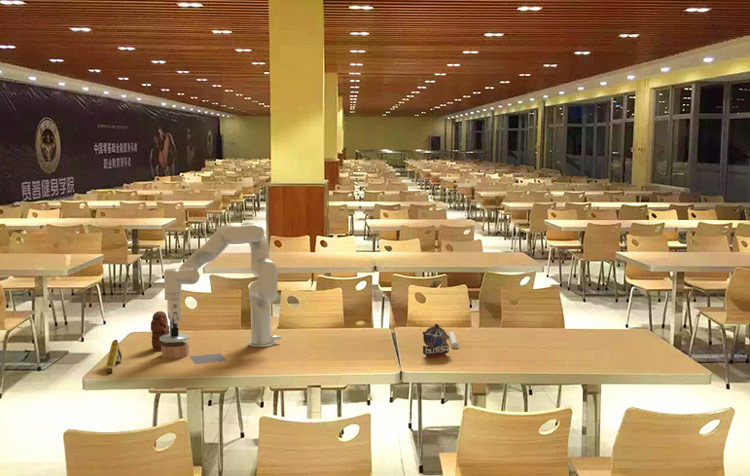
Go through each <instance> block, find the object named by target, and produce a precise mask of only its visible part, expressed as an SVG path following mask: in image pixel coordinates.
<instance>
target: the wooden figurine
mask: <svg viewBox="0 0 750 476" xmlns="http://www.w3.org/2000/svg"><path fill="white" fill-rule="evenodd" d="M151 319H152V320H151V321H150V331H151V333H152V334H151V344H152V350H153V352H161V344H163V343H166V342H162V341H160V339H159V338H160V337H161V336H163V335H168V334H170V324H168V323H169V322H168V321H169V320H168V316H167V313H166V312H165V311H162V310H161V311H160V310H159V311H156V312H154V313H153V315H152V318H151Z"/></svg>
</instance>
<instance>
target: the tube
mask: <svg viewBox="0 0 750 476" xmlns="http://www.w3.org/2000/svg"><path fill="white" fill-rule="evenodd" d="M448 336H449V341H450V343H451V347H452V349H458V348H459V343H458V340H457V337H456V333H455V332H454V331H449V332H448Z"/></svg>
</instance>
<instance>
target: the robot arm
mask: <svg viewBox="0 0 750 476" xmlns="http://www.w3.org/2000/svg"><path fill="white" fill-rule="evenodd" d="M241 244H242V245H243V244H249V246H250V247H249V248H250V271H251V273H252V275H253V276H254V277H256V278H257V279H256V280H254V281H251V283H250V285H249V288H248V297H249V301H250V326H251V327H250V330H251V331H250V333H251V334H250V335H251V336H250V337H251V338H250V339H251V340H250V341H248V343H247V344H248V346H250V347H252V348H268V347H271V346H272V347H273V346H274V345H275V341H276V340H277V341H279V340H282V336H281V335H277V334H276V335H275V334H274V335H273V334H272V317H271V316H272V310H271V302H273V301H275V299H276V298H277V295H278V287H279V286H278V285H279V284H278V282H279V281H278V280H279V278H278V276H279V274H278V273H279V272H278V268H277V265H276V263H275V262H274V261H273V260H271V259H270V248H269V247H270V246H269V242H268V239H267V237H266V235H265V230H264V228H263V226H261V225H260V224H258V223H255V222H249V221H246V222H242V223H241V225H230V224H222V225H221V226H220V227H219V228H217V230H216V231H215V232H214V233H213V234H212V235H211V236H210V238H209V239H208V240H207V241H206V242H205V243H204V244H203V245H202V246H201V247H200V248H198V249H197V250H196V251H194V252H193V253H192V254H191V255H189V256H188V258H187V259H185V260H184V262H183V263H182V264H181V265H180V266H179V268H167V269H165V270H164V271H163V277H164V278H163V283H164V285H163V286H164V300H166V302H167V304H166V306H167V319H169V320H168V321H169V325H170V324H172V328H171V336H172V337H175V336H178V334H179V322H181V321H182V312H181V310H182V309H181V308H182V307H181V300H182V299H183V298H182V285H195V284H196V283H198V282H199V280H200V279H201V278H200V273H199V271H198V270H199V269H201V268H202V267H203V265H206V264H208V263H210V262H213V261H215V260H217V259H218V258H219V256H220V255H221V254H222V253H223V252H224V251H225V249H226V248H228V246H229V245H241Z"/></svg>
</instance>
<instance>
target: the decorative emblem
mask: <svg viewBox="0 0 750 476" xmlns="http://www.w3.org/2000/svg"><path fill="white" fill-rule="evenodd" d="M422 335H423V337H422V338H423V343H424V344H425V345H422V354H423V355H425V357H426V358H428V359H431V358H440V357H441V358H442V357H446V356H447V355H446V354H448V353H449V352H450V349H449V347H450V344H448V342H447V341H448V340H450V338H449V334H447V332H446V331H445V330H444V329H443V328H441V327H440V326H439V324H437V323H435V324H434V326H431V327H428V328H427V329H426V330H425V331H423V332H422Z"/></svg>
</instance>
